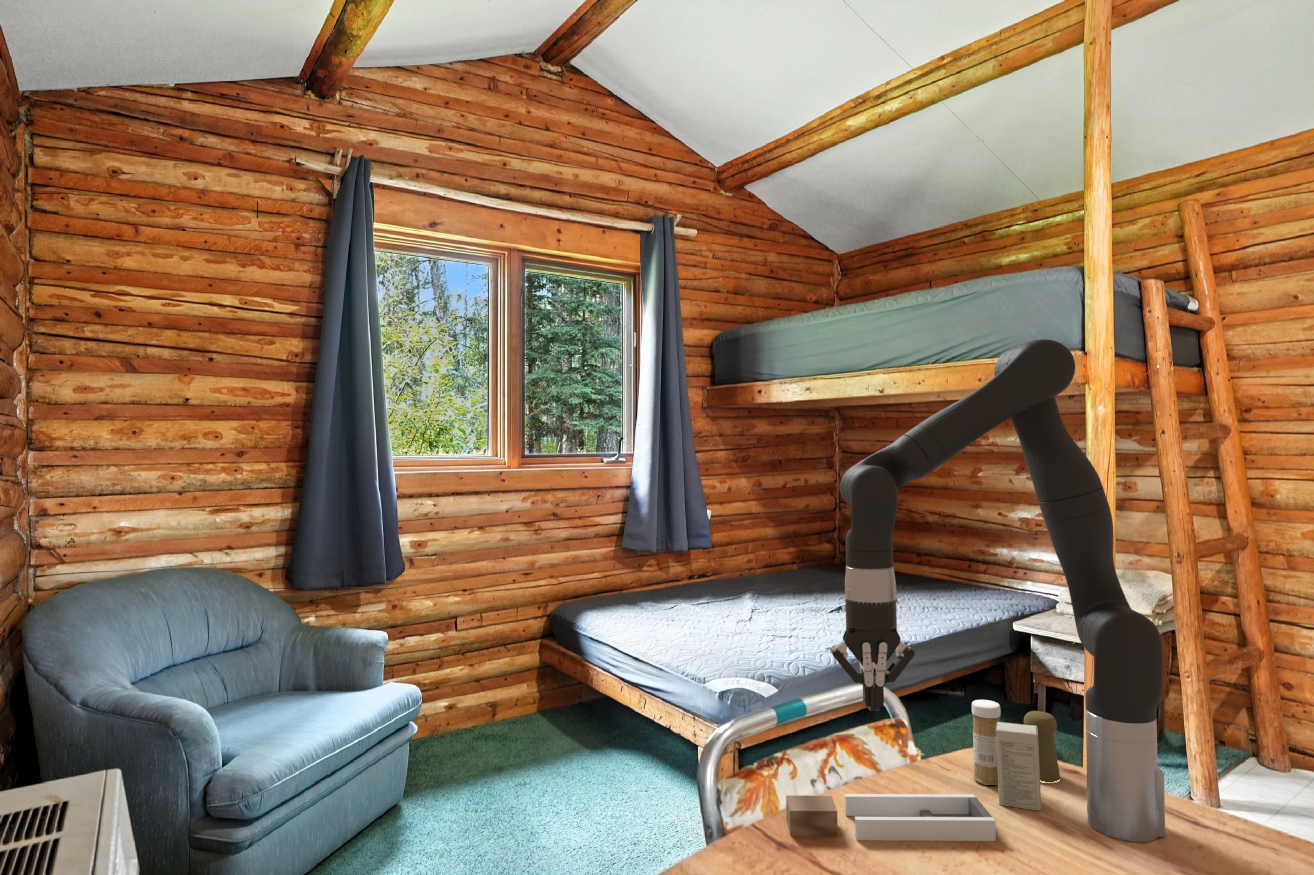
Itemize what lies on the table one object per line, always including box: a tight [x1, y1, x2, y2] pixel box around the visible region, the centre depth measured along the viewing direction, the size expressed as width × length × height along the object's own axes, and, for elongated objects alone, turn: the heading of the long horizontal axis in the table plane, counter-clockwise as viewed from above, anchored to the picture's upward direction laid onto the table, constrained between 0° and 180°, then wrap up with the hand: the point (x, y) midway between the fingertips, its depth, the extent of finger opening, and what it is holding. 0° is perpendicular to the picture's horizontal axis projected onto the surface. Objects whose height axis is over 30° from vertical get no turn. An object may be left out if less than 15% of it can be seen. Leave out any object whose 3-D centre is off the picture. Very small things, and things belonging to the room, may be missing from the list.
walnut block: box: [785, 795, 839, 838], centre depth 119 cm, size 7×5×4 cm
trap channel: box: [844, 793, 997, 842], centre depth 119 cm, size 20×8×3 cm, turn 88°
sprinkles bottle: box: [971, 699, 1002, 786], centre depth 134 cm, size 5×5×14 cm
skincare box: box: [996, 721, 1042, 811], centre depth 126 cm, size 6×4×12 cm
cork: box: [1023, 710, 1061, 782], centre depth 136 cm, size 6×6×11 cm
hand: (873, 708), depth 119 cm, fingers closed
